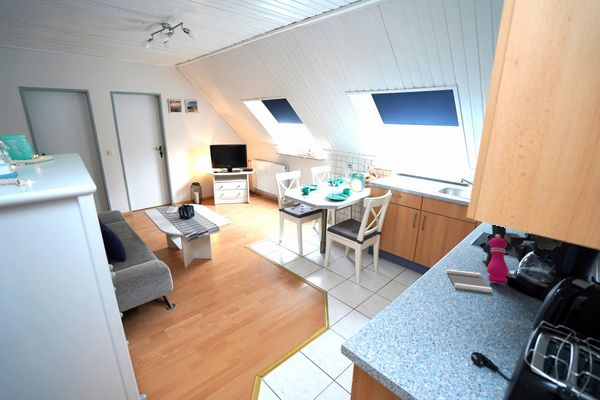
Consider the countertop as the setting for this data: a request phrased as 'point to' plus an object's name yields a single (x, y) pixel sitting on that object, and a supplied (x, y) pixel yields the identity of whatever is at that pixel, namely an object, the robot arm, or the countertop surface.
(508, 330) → the countertop surface
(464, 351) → the countertop surface
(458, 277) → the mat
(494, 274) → the pepper mill
